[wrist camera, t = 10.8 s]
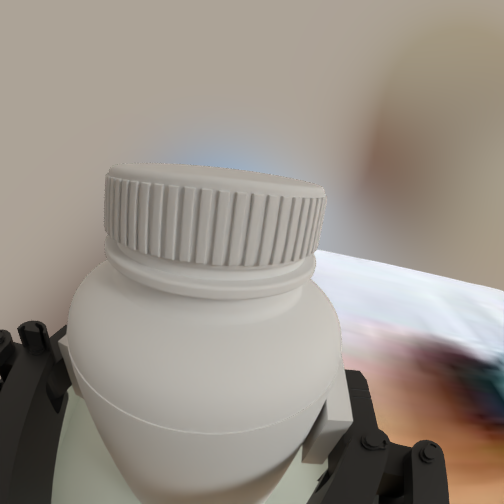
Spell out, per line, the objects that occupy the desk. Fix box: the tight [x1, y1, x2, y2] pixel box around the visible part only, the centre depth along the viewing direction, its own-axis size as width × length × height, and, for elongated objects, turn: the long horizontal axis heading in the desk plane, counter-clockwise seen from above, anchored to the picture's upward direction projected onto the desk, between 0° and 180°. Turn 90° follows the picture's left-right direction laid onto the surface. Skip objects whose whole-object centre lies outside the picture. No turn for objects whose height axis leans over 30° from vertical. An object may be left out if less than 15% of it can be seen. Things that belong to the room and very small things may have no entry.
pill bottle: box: [66, 163, 342, 504], centre depth 9 cm, size 8×8×15 cm
